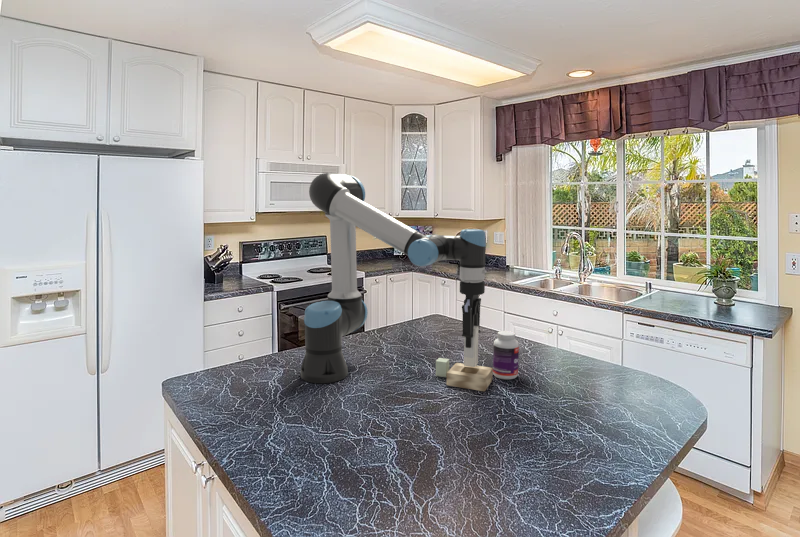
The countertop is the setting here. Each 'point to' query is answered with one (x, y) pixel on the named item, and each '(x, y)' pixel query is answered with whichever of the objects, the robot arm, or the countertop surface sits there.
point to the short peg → (442, 367)
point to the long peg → (474, 361)
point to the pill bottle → (505, 355)
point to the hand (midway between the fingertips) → (470, 354)
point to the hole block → (470, 377)
